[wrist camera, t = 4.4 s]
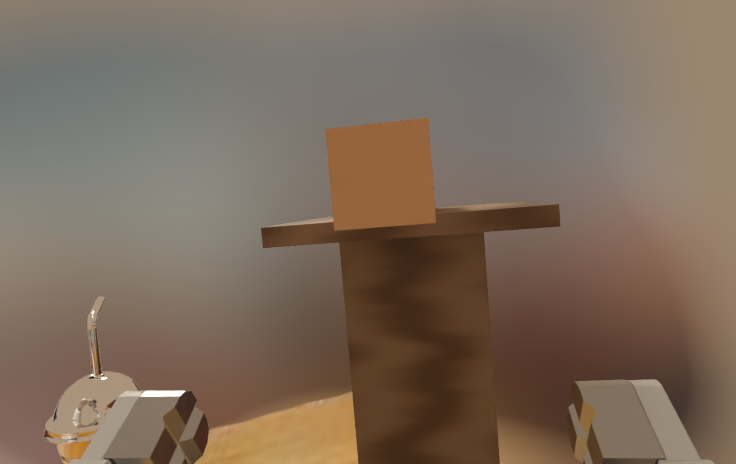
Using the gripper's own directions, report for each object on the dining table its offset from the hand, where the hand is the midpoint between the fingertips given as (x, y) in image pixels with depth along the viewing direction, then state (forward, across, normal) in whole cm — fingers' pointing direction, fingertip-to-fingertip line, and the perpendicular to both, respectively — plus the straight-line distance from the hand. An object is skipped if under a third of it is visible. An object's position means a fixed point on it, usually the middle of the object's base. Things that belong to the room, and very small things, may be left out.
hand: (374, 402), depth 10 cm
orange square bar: (+14, 0, +4) cm, 14 cm away
